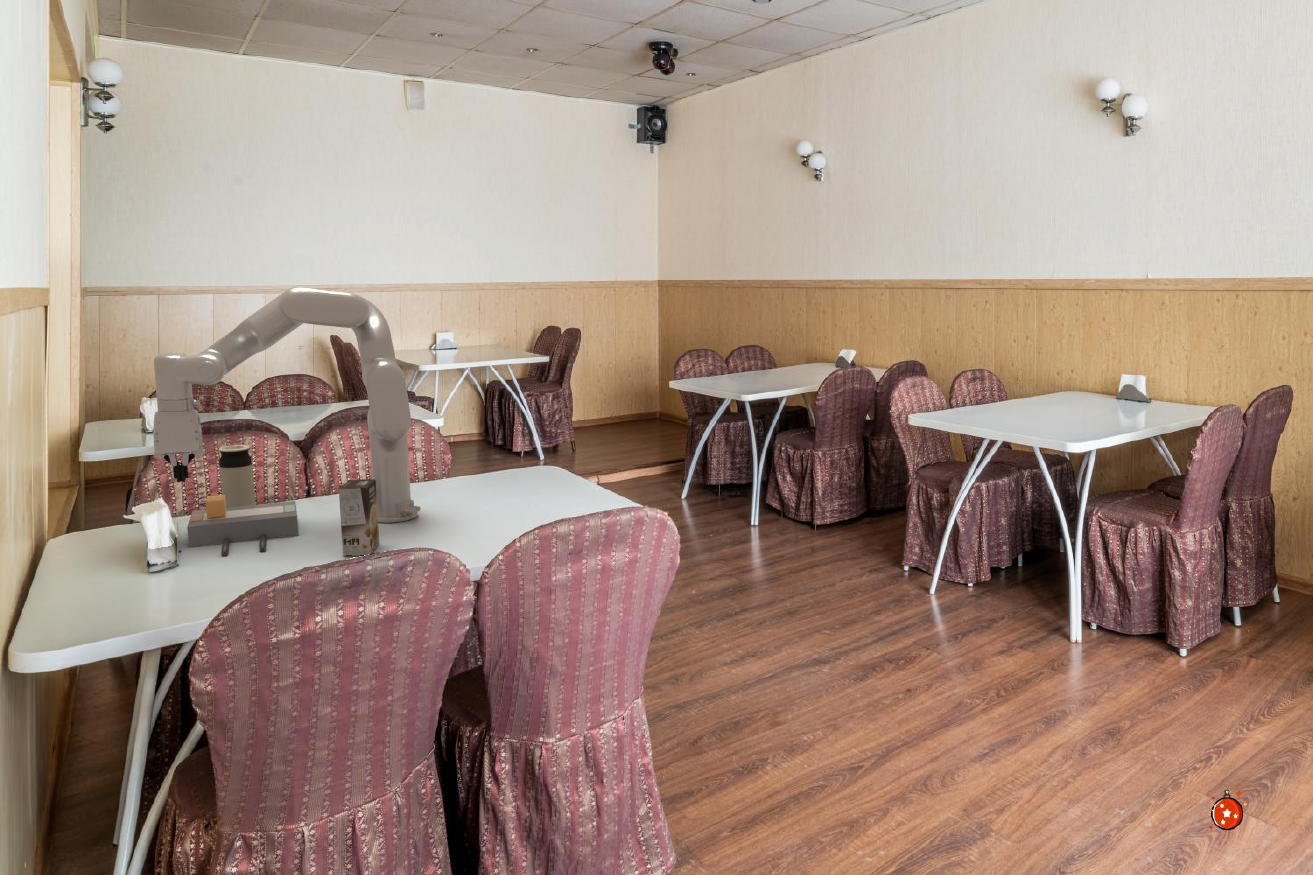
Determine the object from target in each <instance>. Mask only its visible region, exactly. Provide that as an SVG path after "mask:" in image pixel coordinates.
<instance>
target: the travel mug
mask: <svg viewBox="0 0 1313 875" xmlns="http://www.w3.org/2000/svg"><path fill="white" fill-rule="evenodd" d="M250 449H251V448H250V446H249V445H248V444H246V445H245V444H234V445H226V446H222V447H219V449H218V451H219V452H220V458H219V460H218V465H219V473H220V474H219V476H220V485H221V487H220V488H221V495H225V499H226V508H227V507H237V506H248V505H257V504H256V493H255V492H256V491H255V481H254V471H253V470H254V468H253V458H252V456H251V455H250V454H249V451H250Z"/></svg>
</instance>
